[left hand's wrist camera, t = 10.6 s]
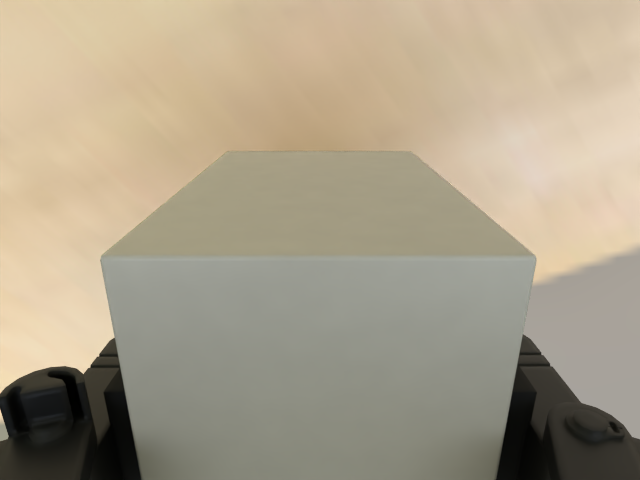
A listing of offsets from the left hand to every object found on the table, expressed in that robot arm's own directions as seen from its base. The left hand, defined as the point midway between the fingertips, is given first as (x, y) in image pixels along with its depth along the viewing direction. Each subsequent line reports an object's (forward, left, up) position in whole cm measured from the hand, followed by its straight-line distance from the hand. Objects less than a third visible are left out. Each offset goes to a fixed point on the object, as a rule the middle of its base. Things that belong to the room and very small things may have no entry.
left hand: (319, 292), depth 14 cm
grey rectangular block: (0, 0, -2) cm, 2 cm away
